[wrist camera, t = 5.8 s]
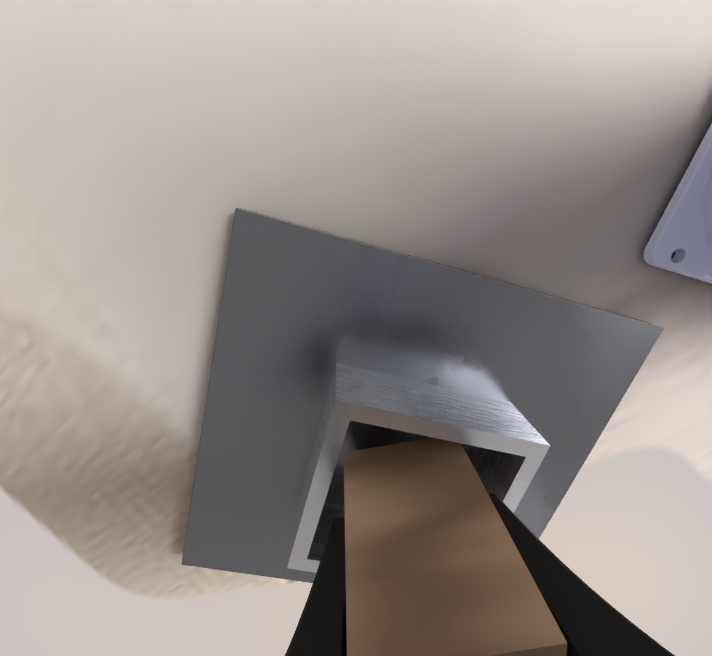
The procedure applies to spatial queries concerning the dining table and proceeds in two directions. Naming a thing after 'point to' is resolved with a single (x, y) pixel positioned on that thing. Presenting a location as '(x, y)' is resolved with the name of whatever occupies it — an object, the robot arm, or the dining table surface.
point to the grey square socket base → (385, 387)
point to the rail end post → (434, 561)
